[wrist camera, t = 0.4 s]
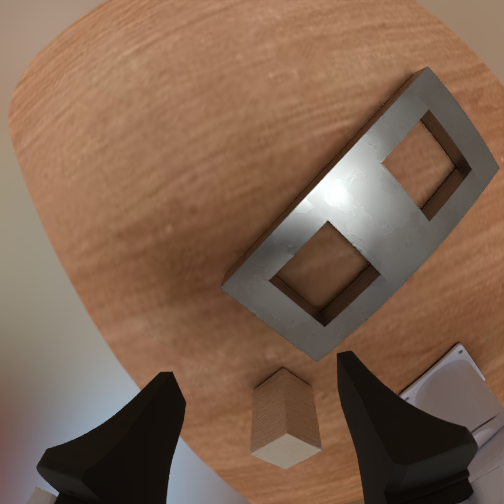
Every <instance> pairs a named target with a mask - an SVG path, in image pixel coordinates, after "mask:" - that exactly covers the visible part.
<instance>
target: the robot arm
mask: <svg viewBox="0 0 504 504" xmlns="http://www.w3.org/2000/svg"><path fill="white" fill-rule="evenodd" d="M337 377H338V391H339V396H340V401H341V406H342V409H343V412H344V415H345V418H346V421H347V424H348V427H349V430H350V433H351V437H352V440H353V443H354V446H355V450H356V453H357V458H358V464H359V469H360V475H361V481H362V487H363V495H364V502H365V504H504V408H503V406H502V405H501V403H500V402H499V401H498V399H497V398H496V396H495V395H494V394H493V392H492V391H491V390H490V388H489V387H488V386H487V384H486V383H485V382H484V381H485V378H484V376H483V375H482V373H481V372H480V370H479V369H478V367H477V366H476V364H475V363H474V361H473V360H472V358H471V357H470V355H469V354H468V352H467V351H466V350H465V348H464V347H463V345H462V344H461V343H458V344H457V345H455V346H454V347H453V348H452V349H451V350H450V351H449V352H448V353H447V354H446V355H445V356H444V357H443V358H442V359H441V360H440V361H439V362H437V363H436V364H435V365H434V366H433V367H432V368H431V369H430V370H429V371H427V372H426V373H425V374H424V375H423V376H422V377H420V378H419V379H418V380H417V381H416V382H414V383H413V384H412V385H411V386H410V387H408V388H407V389H406V390H405V391H403V392H402V393H401V394H400V395H399V396H398V395H397V394H395V393H394V392H393V391H391V390H390V389H389V388H388V387H387V386H385V385H384V384H383V383H382V382H381V381H380V380H379V379H378V378H377V377H376V376H374V375H373V374H372V373H371V372H370V371H369V370H368V369H367V368H366V366H365V365H364V364H363V363H362V362H361V361H360V360H359V359H358V358H357V356H356V355H355V354H354V353H353V352H352V351H346V352H341V353H337ZM185 407H186V401H185V399H184V397H183V395H182V392H181V390H180V388H179V386H178V383H177V381H176V379H175V376H174V374H173V372H160V373H159V374H158V375H157V376H156V377H155V378H154V379H152V380H151V381H150V382H149V383H148V385H147V386H146V387H145V388H144V389H143V390H141V391H140V392H139V393H138V394H137V396H135V397H134V398H133V399H132V400H131V401H130V402H129V403H128V404H127V405H126V406H124V407H123V408H122V409H121V410H120V411H119V412H117V413H116V414H115V415H114V416H112V417H111V418H110V419H108V420H107V421H106V422H104V423H103V424H101V425H100V426H98V427H96V428H95V429H93V430H91V431H89V432H88V433H86V434H84V435H82V436H80V437H78V438H76V439H74V440H71V441H69V442H67V443H64V444H61V445H58V446H55V447H52V448H48V449H47V450H46V451H45V453H44V455H43V456H42V458H41V460H40V461H39V463H38V465H37V471H38V472H39V474H40V475H41V476H42V477H43V478H44V479H45V480H46V481H47V482H48V483H49V484H50V485H51V486H52V487H53V488H54V489H56V490H57V491H58V492H59V495H58V497H56V496H55V495H53V494H51V493H49V492H47V491H45V490H42V489H40V488H38V487H35V489H34V491H33V493H32V495H31V497H30V498H29V501H28V503H27V504H166V498H167V488H168V480H169V474H170V467H171V463H172V459H173V455H174V452H175V448H176V445H177V442H178V438H179V435H180V432H181V428H182V425H183V421H184V415H185Z"/></svg>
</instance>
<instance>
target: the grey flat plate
mask: <svg viewBox="0 0 504 504" xmlns="http://www.w3.org/2000/svg"><path fill="white" fill-rule="evenodd" d="M420 119H421V120H422V121H423V122H424V123H425V125H426V126H427V127H428V128H429V130H430V131H431V132H432V134H433V135H434V136H435V137H436V139H437V140H438V141H439V143H440V144H441V145H442V147H443V148H444V149H445V151H446V152H447V154H448V155H449V156H450V158H451V159H452V161H453V162H454V164H455V165H456V166H457V167H456V169H455V170H454V171H453V172H452V174H451V175H450V176H449V177H448V179H447V180H446V181H445V182H444V184H443V185H442V186H441V187H440V188H439V190H438V191H437V192H436V193H435V194H434V196H433V197H432V198H431V199H430V200H429V201H428V203H427V204H426V205H425V206H424V207H423V208H422V210H420V209H419V208H418V206H417V205H416V204H415V202H414V201H413V200H412V199H411V197H410V196H409V195H408V194H407V192H406V191H405V190H404V189H403V188H402V186H401V185H400V184H399V183H398V182H397V181H396V179H395V178H394V177H393V176H392V175H391V174H390V172H389V171H388V170H387V169H386V168H385V167H384V166H383V164H382V163H381V162H382V161H383V160H384V159H385V158H386V157H387V156H388V155H389V154H390V153H391V151H392V150H393V149H394V148H395V147H396V146H397V145H398V144H399V143H400V141H401V140H402V139H403V138H404V137H405V136H406V135H407V134H408V132H409V131H410V130H411V129H412V128H413V127H414V126H415V125H416V123H417V122H418V121H419V120H420ZM498 170H499V166H498V164H497V162H496V161H495V159H494V157H493V155H492V154H491V152H490V150H489V149H488V147H487V145H486V144H485V142H484V140H483V139H482V137H481V136H480V134H479V133H478V131H477V130H476V128H475V127H474V125H473V124H472V122H471V121H470V119H469V118H468V116H467V115H466V113H465V112H464V111H463V109H462V108H461V107H460V105H459V104H458V102H457V101H456V100H455V99H454V97H453V96H452V95H451V93H450V92H449V91H448V90H447V88H446V87H445V86H444V85H443V83H442V82H441V81H440V80H439V78H438V77H437V76H436V75H435V74H434V73H433V71H432V70H431V69H430V68H429V67H426V68H423V69H421V70H419V71H417V72H415V73H414V74H413V75H412V76H411V77H410V78H409V79H408V80H407V81H406V82H405V83H404V84H403V86H402V87H401V88H400V89H399V90H398V91H397V92H396V93H395V94H394V95H393V96H392V97H391V98H390V99H389V100H388V101H387V102H386V104H385V105H384V106H383V107H382V108H381V109H380V110H379V111H378V112H377V113H376V114H375V115H374V116H373V117H372V118H371V119H370V120H369V122H368V123H367V124H366V125H365V126H364V127H363V128H362V129H361V130H360V131H359V132H358V133H357V134H356V135H355V136H354V137H353V139H352V140H351V141H350V142H349V143H348V144H347V145H346V146H345V147H344V148H343V149H342V150H341V151H340V152H339V153H338V155H337V156H336V157H335V158H334V159H333V160H332V161H331V162H330V163H329V164H328V165H327V166H326V167H325V168H324V169H323V171H322V172H321V173H320V174H319V175H318V176H317V177H316V178H315V179H314V180H313V181H312V182H311V183H310V184H309V185H308V187H307V188H306V189H305V190H304V191H303V192H302V193H301V194H300V195H299V196H298V197H297V198H296V199H295V200H294V201H293V203H292V204H291V205H290V206H289V207H288V208H287V209H286V210H285V211H284V212H283V213H282V214H281V215H280V216H279V218H278V219H277V220H276V221H275V222H274V223H273V224H272V225H271V226H270V227H269V228H268V229H267V230H266V232H265V233H264V234H263V235H262V236H261V237H260V238H259V239H258V240H257V241H256V242H255V243H254V244H253V245H252V247H251V248H250V249H249V250H248V251H247V252H246V253H245V254H244V255H243V256H242V257H241V258H240V259H239V261H238V262H237V263H236V264H235V265H234V266H233V267H232V268H231V269H230V270H229V271H228V272H227V273H226V275H225V276H224V278H223V281H222V285H221V289H222V290H223V291H225V292H226V293H227V294H229V295H230V296H231V297H232V298H234V299H235V300H236V301H237V302H239V303H240V304H241V305H242V306H244V307H245V308H246V309H248V310H249V311H250V312H251V313H253V314H254V315H255V316H257V317H258V318H259V319H260V320H262V321H263V322H264V323H266V324H267V325H268V326H270V327H271V328H272V329H274V330H275V331H276V332H277V333H279V334H280V335H281V336H283V337H284V338H285V339H287V340H288V341H289V342H291V343H292V344H293V345H295V346H296V347H298V348H299V349H300V350H302V351H303V352H304V353H306V354H307V355H308V356H310V357H311V358H313V359H314V360H315V361H317V362H318V361H320V360H321V359H322V358H323V357H324V356H326V355H327V354H328V353H329V352H330V351H332V350H333V349H334V348H335V347H336V346H338V345H339V344H340V343H341V342H342V341H343V340H345V339H346V338H347V337H348V336H349V335H350V334H352V333H353V332H354V331H355V330H356V329H357V328H358V327H359V326H360V325H362V324H363V323H364V322H365V321H366V320H367V319H368V318H369V317H370V316H371V315H372V314H374V313H375V312H376V311H377V310H378V309H379V308H380V307H381V306H382V305H383V304H384V303H385V302H386V301H387V300H388V299H389V298H390V297H391V296H392V295H393V294H394V293H395V292H396V291H397V290H398V289H399V288H400V287H401V286H402V285H403V284H404V283H405V282H406V281H407V280H408V279H409V278H410V277H411V276H412V275H413V274H414V273H415V272H416V271H417V270H418V269H419V268H420V266H421V265H422V264H423V263H424V262H425V261H426V260H427V259H428V258H429V257H430V256H431V254H432V253H433V252H434V251H435V250H436V249H437V248H438V247H439V245H440V244H441V243H442V242H443V241H444V240H445V239H446V237H447V236H448V235H449V234H450V233H451V231H452V230H453V229H454V228H455V227H456V225H457V224H458V223H459V222H460V221H461V219H462V218H463V217H464V216H465V214H466V213H467V212H468V210H469V209H470V208H471V207H472V205H473V204H474V203H475V201H476V200H477V199H478V197H479V196H480V195H481V193H482V192H483V191H484V189H485V188H486V187H487V185H488V184H489V182H490V181H491V180H492V178H493V177H494V175H495V174H496V172H497V171H498ZM327 220H328V221H329V222H330V223H331V224H332V225H333V226H334V227H335V228H337V229H338V230H339V231H340V232H341V233H342V234H343V235H344V236H345V237H346V238H347V239H348V240H349V241H350V242H351V243H352V244H353V245H354V247H355V248H356V249H357V250H358V251H359V252H360V253H361V254H362V255H363V256H364V257H365V258H366V259H367V260H368V261H369V262H370V263H371V264H370V265H369V266H368V267H367V269H366V270H365V271H364V272H363V273H362V274H361V275H360V276H358V277H357V278H356V279H355V280H354V281H353V282H352V283H351V284H350V285H349V286H348V287H347V288H346V289H345V290H344V291H343V292H342V293H341V294H340V295H339V296H338V297H337V298H336V299H335V300H334V301H333V302H332V303H330V304H329V305H328V306H327V307H326V308H325V309H324V310H323V311H322V312H321V313H320V312H318V311H317V310H316V309H315V308H314V307H312V306H311V305H310V304H309V303H308V302H306V301H305V300H304V299H303V298H302V297H301V296H299V295H298V294H297V293H296V292H295V291H293V290H292V289H291V288H290V287H289V286H288V285H286V284H285V283H284V282H283V281H282V280H280V279H279V278H278V277H277V276H276V275H275V274H276V273H277V272H278V271H279V270H280V269H281V268H282V267H283V266H284V265H285V264H286V263H287V262H288V261H289V260H290V259H291V258H292V257H293V256H294V255H295V254H296V253H297V252H298V251H299V249H300V248H301V247H302V246H303V245H304V244H305V243H306V242H307V241H308V240H309V239H310V238H311V237H312V236H313V235H314V234H315V233H316V232H317V231H318V230H319V229H320V228H321V227H322V226H323V225H324V224H325V223H326V221H327Z"/></svg>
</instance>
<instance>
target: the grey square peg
mask: <svg viewBox="0 0 504 504" xmlns="http://www.w3.org/2000/svg"><path fill="white" fill-rule="evenodd" d="M320 451H322V445H321V439H320V432H319V426H318V420H317V414H316V408H315V402H314V396H313V390H312V387H311V386H309V385H308V384H306V383H305V382H303V381H302V380H300V379H299V378H297V377H296V376H294V375H293V374H291V373H290V372H288V371H287V370H285V369H284V368H282V369H280V370H279V371H278V372H277V373H275V374H274V375H273V376H271V377H270V378H269V379H268V380H266V381H265V382H264V383H262V384H261V385H260V386H258V387H257V388H256V389H254V390H253V407H252V426H251V443H250V454H251V455H253V456H255V457H258V458H260V459H262V460H265V461H267V462H269V463H272V464H274V465H276V466H279V467H281V468H284V469H287V468H289V467H291V466H293V465H295V464H297V463H299V462H301V461H303V460H305V459H307V458H309V457H311V456H312V455H314V454H316V453H318V452H320Z"/></svg>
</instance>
